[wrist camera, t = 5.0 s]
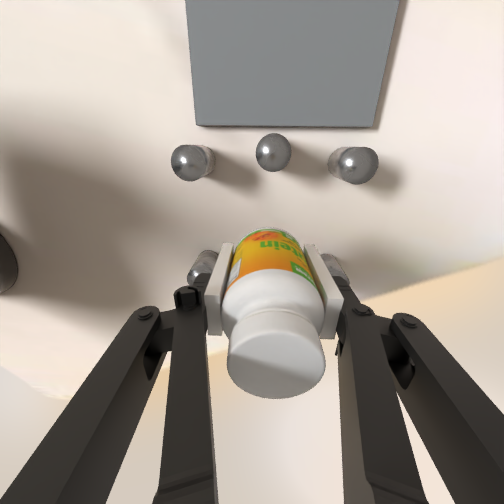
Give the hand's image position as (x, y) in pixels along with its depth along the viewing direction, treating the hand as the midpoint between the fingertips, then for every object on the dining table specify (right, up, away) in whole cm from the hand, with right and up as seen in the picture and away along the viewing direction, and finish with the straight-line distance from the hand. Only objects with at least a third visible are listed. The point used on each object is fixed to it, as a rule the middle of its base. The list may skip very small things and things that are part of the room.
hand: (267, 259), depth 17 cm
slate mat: (+2, +19, +4) cm, 20 cm away
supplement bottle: (0, 0, +1) cm, 1 cm away
